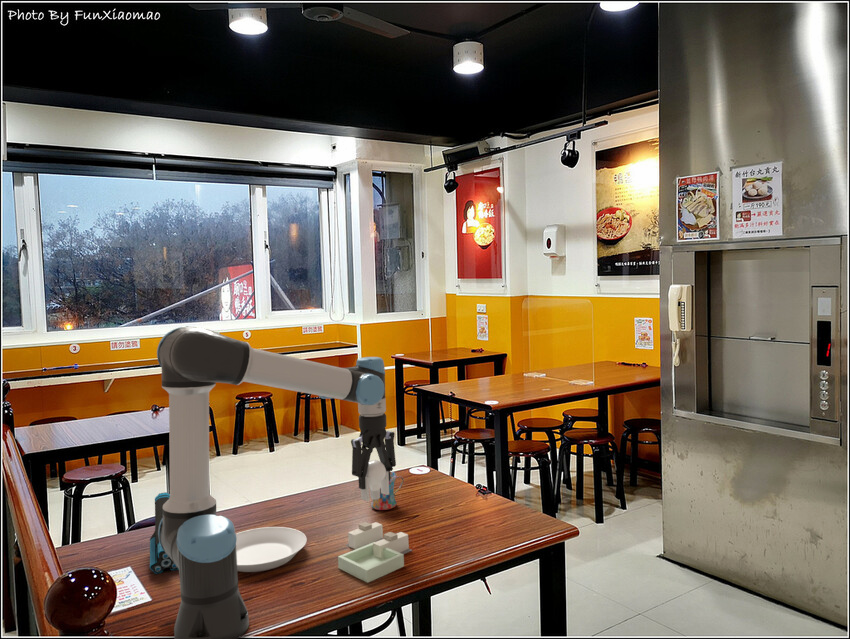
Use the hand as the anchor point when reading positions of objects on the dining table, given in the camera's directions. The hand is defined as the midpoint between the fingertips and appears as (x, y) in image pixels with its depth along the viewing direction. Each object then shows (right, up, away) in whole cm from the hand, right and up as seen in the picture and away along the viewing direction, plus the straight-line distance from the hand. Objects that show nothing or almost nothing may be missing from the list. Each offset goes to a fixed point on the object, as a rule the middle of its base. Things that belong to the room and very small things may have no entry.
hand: (375, 496), depth 174 cm
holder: (+1, -14, +1) cm, 14 cm away
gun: (-58, -17, +2) cm, 61 cm away
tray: (0, -15, -11) cm, 19 cm away
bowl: (-31, -16, -2) cm, 35 cm away
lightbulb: (0, -1, 0) cm, 1 cm away
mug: (+1, -13, +33) cm, 36 cm away
